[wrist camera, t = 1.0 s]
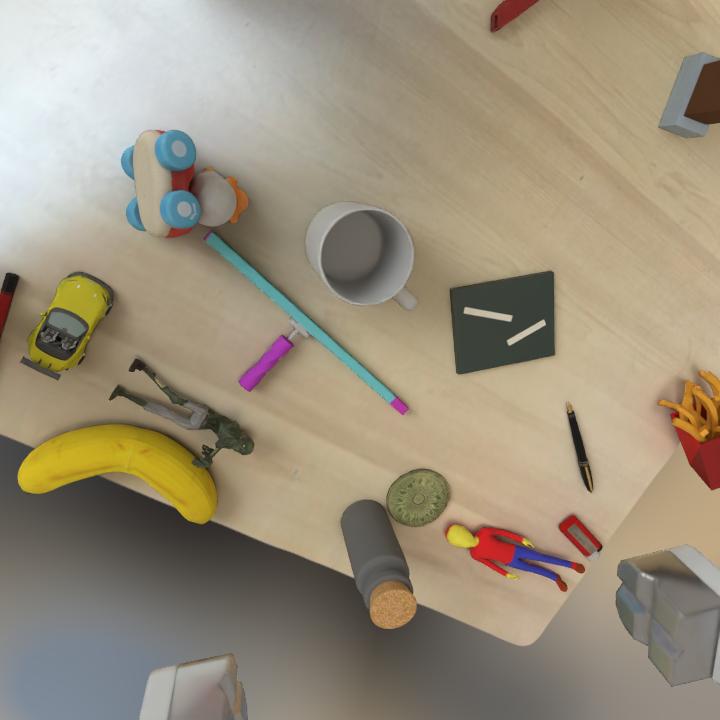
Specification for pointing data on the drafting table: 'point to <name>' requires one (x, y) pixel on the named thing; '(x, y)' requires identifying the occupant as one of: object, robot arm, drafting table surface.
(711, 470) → the french fries
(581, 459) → the fountain pen
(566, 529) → the lighter
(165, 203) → the toy car
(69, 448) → the fruit
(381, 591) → the bottle
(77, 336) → the toy car
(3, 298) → the pencil
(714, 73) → the eraser
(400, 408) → the squeegee
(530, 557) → the character figure
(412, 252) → the mug
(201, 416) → the zombie figurine
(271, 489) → the drafting table surface
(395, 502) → the medallion
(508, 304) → the chalkboard
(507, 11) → the utility knife
